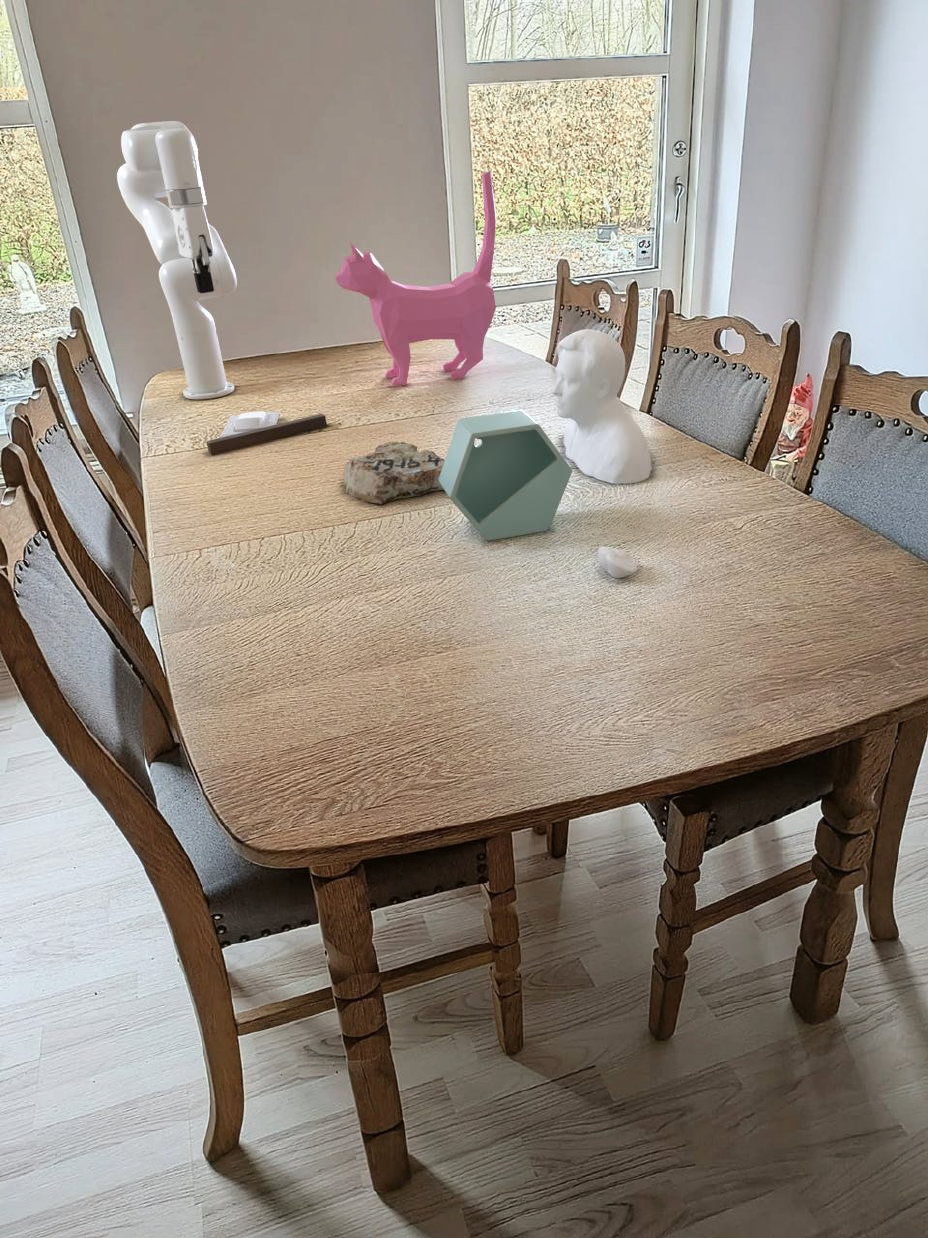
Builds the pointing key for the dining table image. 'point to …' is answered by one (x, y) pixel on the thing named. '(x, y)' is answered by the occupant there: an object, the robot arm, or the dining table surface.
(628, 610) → the dining table surface
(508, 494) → the planter
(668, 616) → the dining table surface
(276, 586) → the dining table surface
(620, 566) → the dumpling
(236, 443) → the back rail
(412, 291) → the cat
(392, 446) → the stone
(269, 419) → the light switch
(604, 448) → the bust
